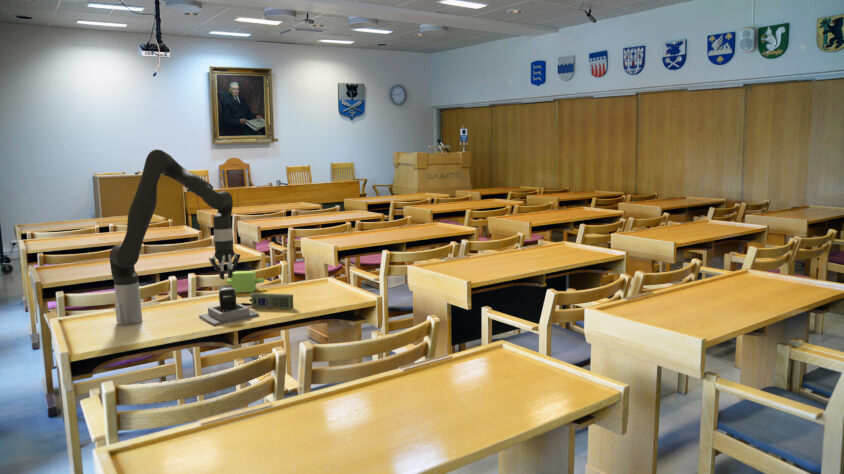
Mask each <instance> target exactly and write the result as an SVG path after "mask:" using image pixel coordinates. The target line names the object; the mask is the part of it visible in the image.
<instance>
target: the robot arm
mask: <svg viewBox="0 0 844 474" xmlns="http://www.w3.org/2000/svg"><path fill="white" fill-rule="evenodd" d="M142 169H143V170H142V173H141V177H140V181H139V184H138V186H137V188H136V192H135V194H134V197H133V198H132V202H131V204H130V207H129V210H128V214H127V224H126V225H127V226H126V233H125V235H124V238H123V241H122V243H121V244H120V243H119V244H117V245H115V246H113V247H112V248H111V249H110V252H109V263H110V264H109V265H110V271H111V272H110V273H111V276H112V279H113V283H114V293H115V301H114V308H115V316H116V318H115V319H116V323H117V322H118V323H119V324H118V323H117V324H118V325H119V326H121V325H122V326H132V325H136V324H139V323H141V322H143V314H142V313H143V312H142V304H141V293H140V284H139V275H138V274H137V272H136V270H135V269H136V268H135V265H136V264H137V263H138V261H139V259H140V255H141V250H142V246H143V242H144V239H145V236H146V233H147V231H148V229H149V226H150V224H151V220H152V219H153V215H154V213H155V211H156V208H157V202H158V184H159V180H160V178H161V176H162V175H163V176H166V177H168V178H170V179H173V180H174V181H175V182H178V183H180V184H181V185H182V186H183V187H185V188H186V189H187V190H188V191H190V192H191V193H193V194H194V195H196V196H198V197H199V198H201V199H202V201H203V202H204V203H205V204H206V205H207V206H208V207H210V208H212V209H214V210H217V212H216V214H215V215H214V216H213V218H212V219H213V242H214V255H213V256H211V257H208V261H209V262H210V264H211V266H212V268H213V269H214V270H216V271H218V273H219V274H218V275H219V276H218V277H219V278H220V279H221V280H222V281H224V280H225V271H224V266H225V263H226V267H227V269H226V271H227V279H231V278H232V276H233V274H232V273H233V270H234V268H237V266H238V264H239V261H240V258H241V254H239V253H236V252H235V251H234V237H233V236H234V235H233V231H232V230H233V229H232V220H231V219H232V215H233V213H232V212H233V207H234V206H233V204H234V202H233V201H234V200H233V196H232V194H231V193H230V192H228V191H227V190H222V191H219V192H218V191H215V190H214V186H213V185H212V184H211V183H209V182H208V181H207V180H205V179H203V178H202V177H200V176H198V175H196V174H194V173H193V172H191V171H189V170H187V169H186V168H184V167H183V166H182V165H180V163H179V162H178V161H176V160H175V159H174V158H173V157H172V156H171V154H169V153H167V152H165V151H164V150H162V149H159V148H158V149H157V148H156V149H153V150H151V151H150V152H149V153H148V155H147V156H146V159H145V162H144V166H143V168H142ZM232 259H233V260H232ZM216 261H217V262H218V263H217V262H216Z"/></svg>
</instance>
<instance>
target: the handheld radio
mask: <svg viewBox="0 0 844 474" xmlns="http://www.w3.org/2000/svg"><path fill="white" fill-rule="evenodd" d="M248 293H249V298H250V299H249V302H250V303H249V302H241V303H240V304H242V305H244V306H246V307H251V308H253V309H257V308H259V309H273V308H278V309H277V310H292V308H293V309H294V294H288V293H284V294H283V293H258V292H248Z"/></svg>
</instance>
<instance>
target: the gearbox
mask: <svg viewBox="0 0 844 474" xmlns="http://www.w3.org/2000/svg"><path fill="white" fill-rule="evenodd" d="M232 274H233V276H232V278H227V279H226V285H231V288H234V289H235V291H236V293H255V291H256V289H255V288H257V284H260V283H264V282H265V278H263V277H262V278H256V271H255V270H251V271H250V270H245V271H242V270H241V271H234V272H233V271H232Z"/></svg>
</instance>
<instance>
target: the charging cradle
mask: <svg viewBox="0 0 844 474" xmlns="http://www.w3.org/2000/svg"><path fill="white" fill-rule="evenodd" d="M236 309H237V310H232V311H228V312H223V313H222V312H221V310H220V304H219V305H218V304H217V305H214V306H210V307H207V313H202V314H199V315H198V318H199V319H201V320H203V321H204V322H207V323H209V324H210V325H212V326H213V325H214V326H213V327H217V326H221V325H224V323H226V324H230V323H233V322H238V320H239V321H243V320H247V319H252V318H255V317H256V318H257V317H259V316H260V314H259V313H257V312H256V311H254V310H251V309H250V308H249V306H244V305H242V304H241V303H240V302H237V301H236ZM229 322H230V323H229ZM220 324H221V325H220ZM216 325H217V326H216Z"/></svg>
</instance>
